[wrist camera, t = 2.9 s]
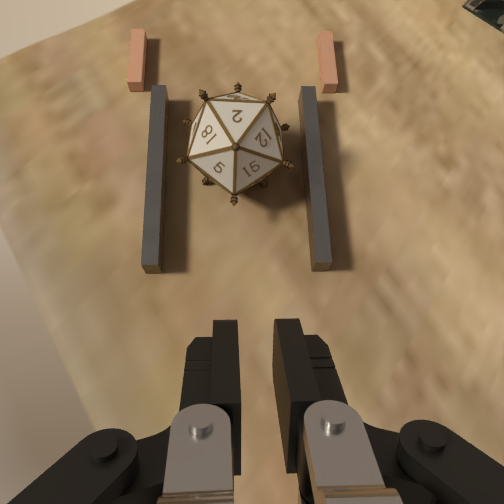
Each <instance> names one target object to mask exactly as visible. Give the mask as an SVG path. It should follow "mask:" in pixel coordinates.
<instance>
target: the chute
mask: <svg viewBox="0 0 504 504" xmlns="http://www.w3.org/2000/svg"><path fill="white" fill-rule="evenodd" d="M298 105H299V118H300V130H301V143H302V156H303V168H304V181H305V194H306V206H307V219H308V231H309V244H310V257H311V269H312V271H327V270H328V269H329V267H330V265H331V264H332V253H331V243H330V233H329V222H328V212H327V202H326V191H325V181H324V171H323V160H322V150H321V139H320V129H319V119H318V108H317V98H316V88H315V86H301V91H300V96H299V100H298ZM168 109H169V99H168V94H167V88H166V85H152V87H151V104H150V121H149V138H148V155H147V173H146V190H145V207H144V224H143V241H142V259H141V265H142V267H143V269H144V271H145V273H162V255H163V230H164V206H165V182H166V158H167V133H168Z"/></svg>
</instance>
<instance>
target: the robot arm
mask: <svg viewBox="0 0 504 504" xmlns="http://www.w3.org/2000/svg"><path fill="white" fill-rule="evenodd" d="M272 367H273V383H274V390H275V397H276V404H277V411H278V418H279V425H280V431H281V438H282V445H283V452H284V459H285V466H286V473H287V474H288V473H297V476H298V482H299V489H298V504H504V466H502V465H501V464H499V463H498V462H496V461H495V460H494V459H492V458H491V457H489V456H488V455H486V454H485V453H483V452H482V451H480V450H479V449H478V448H476V447H475V446H473V445H472V444H470V443H469V442H467V441H466V440H464V439H463V438H462V437H460V436H459V435H457V434H456V433H454V432H453V431H451V430H450V429H448V428H447V427H445V426H443V425H441V424H439V423H436V422H433V421H428V420H414V421H411V422H408V423H406V424H405V425H404V426H403V427H402V428H401V430H400V433H397V432H393V431H388V430H384V429H379V428H376V427H373V426H370V425H368V424H366V423H364V422H363V421H362V418H361V416H360V415H359V414H358V412H357V411H356V410H355V409H353V408H352V407H351V406H349V405H348V403H347V400H346V397H345V394H344V391H343V388H342V385H341V382H340V379H339V376H338V374H337V371H336V369H335V365H334V362H333V359H332V356H331V353H330V350H329V347H328V345H327V344H326V343H325V342H324V341H323V340H322V339H321V338H320V337H319V336H318V335H304V334H303V330H302V327H301V323H300V320H299V318H296V319H275V320H274V334H273V362H272ZM234 475H241V388H240V367H239V345H238V323H237V320H213V337H195V339H194V340H193V341H192V342H191V344H190V345H189V346H188V347H187V352H186V363H185V369H184V377H183V385H182V393H181V401H180V409H179V413H178V414H177V415H176V416H175V417H174V418H173V421H172V423H171V426H169V427H168V428H167V429H165V430H164V431H162V432H160V433H158V434H156V435H153V436H150V437H147V438H143V439H140V440H137V441H136V440H135V438H134V437H133V436H132V435H131V434H130V433H129V432H127V431H125V430H121V429H114V428H112V429H103V430H100V431H97V432H94V433H92V434H90V435H88V436H87V437H85V438H84V439H83V440H81V441H80V442H79V443H78V444H77V445H76V446H74V447H73V448H72V449H71V450H70V451H68V452H67V453H66V454H65V455H64V456H63V457H61V458H60V459H59V460H58V461H57V462H56V463H55V464H53V465H52V466H51V467H50V468H48V469H47V470H46V471H45V472H44V473H43V474H41V475H40V476H39V477H38V478H37V479H36V480H34V481H33V482H32V483H31V484H30V485H29V486H27V487H26V488H25V489H24V490H23V491H22V492H21V493H19V494H18V495H17V496H16V497H14V498H13V499H12V500H11V501H10V502H9V503H7V504H234Z"/></svg>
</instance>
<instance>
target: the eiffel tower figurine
mask: <svg viewBox="0 0 504 504" xmlns="http://www.w3.org/2000/svg"><path fill="white" fill-rule="evenodd" d="M462 7H463V8H465V9H466V10H468V11H469V12H471V13H472V14H474V15H476V16H477V17H479V18H480V19H482V20H483V21H485V22H487V23H488V24H490V25H491V26H493V27H494V28H496V29H497V30H499V31H501V32H502V33H504V0H468V1H467V2H466V3H465V4H464V5H463V6H462Z"/></svg>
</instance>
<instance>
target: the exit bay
mask: <svg viewBox="0 0 504 504" xmlns="http://www.w3.org/2000/svg"><path fill="white" fill-rule="evenodd" d="M317 47H318V57H319V67H320V77H321V86H322V93H335V92H336V89H337V86H338V78H337V70H336V61H335V53H334V44H333V36H332V32H321V31H319V35H318V39H317ZM146 48H147V37H146V32H145V29H131V41H130V54H129V66H128V78H127V83H128V86H129V90H130V91H144V79H145V63H146Z"/></svg>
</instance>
